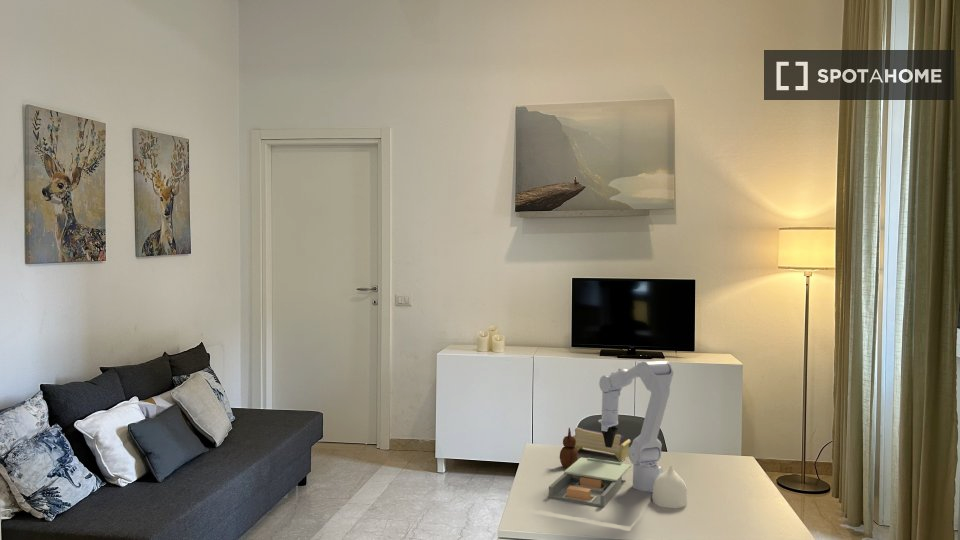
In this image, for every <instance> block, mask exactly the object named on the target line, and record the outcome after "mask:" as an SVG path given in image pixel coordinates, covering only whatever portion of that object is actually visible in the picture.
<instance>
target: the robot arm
mask: <svg viewBox="0 0 960 540" xmlns="http://www.w3.org/2000/svg"><path fill="white" fill-rule="evenodd" d="M673 375H674V371H673V368H672V365H671V363H670V362H669V361H668V360H666V359H664V360H657V361H656V360H654V361H653V360H652V361H641V362H638V363H637V364H636V365H634V366H633V367H631V368H629V369H628V368H624V367H620V368H618V369H617V371H616V372H611V373H610V375H602V376H601V377H600V379H599V381H598V384H599V389H600V391H602V392H601V393H602V398H601V399H602V400H601V419H599V420H597V421H598V423H600V424H601V426H600V428H599V429H600V432H601V433H602V434H603V437H604V442H605V446H606V447H609V448H611V447H612V446H613V442H614V438H615V434H617V432H618V431H619V426H618V425H619V401H620V400H619V398H620V395H621V391H622V389H623V388H624V387H627V386H629V385H631V384H632V383H633V379H637V378H639V379H640V380H641V382H642V383H643V385H644V387H645V389H646V390H648V391H649V392H650V397H649V401H648V404H647V407H646V410H645V411H646V412H645V416H644V420H643V423H642V427H641V430H640V434H639V435H638V436H637V437H635V438H634V439H633V440H632V443H631V445H629V450H628V459H629V461H630V463H631V464H633V465H632V488H633V489H635V490H637V491H643V492H651V493H653V486H654V483H655V480H656V479H657V478H658V477H659V476H660V474H662V473H663V467H662V466H661V465H658V462H659V461H660V460H661V457H662V446H663V443H662V442H661V440H660V439H659V438H658V436H659V433H660V429H661V425H662V422H663V417H664V414H665V410H666V407H667V403H668V399H669V397H670V392H671V391H670V389H671V388H670V387H671V383H672V380H673Z"/></svg>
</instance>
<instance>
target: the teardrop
mask: <svg viewBox="0 0 960 540" xmlns="http://www.w3.org/2000/svg"><path fill="white" fill-rule="evenodd" d="M651 502H653V504H655V505H657V506H659V507H663V508H669V509H680V508H685V507H687V506H688V488H687V485H686V482H685V481H684V480H683V478H682V477H681V476H680V475H679V474H678V473H677V472H676V471H675V470H674V469H673V466H672V465H670V466H669V467H668V469H667V470H665V471H663V472H662V474H660V476H659V477H658V478H657V479H656V480H655V483H654V486H653V492H652V495H651Z"/></svg>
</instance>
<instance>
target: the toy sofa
mask: <svg viewBox="0 0 960 540" xmlns="http://www.w3.org/2000/svg"><path fill="white" fill-rule="evenodd" d="M572 437H574V438H575V439H576V445H575V446H574V447H576V449H577V451H578V452H579V451H581V450H582V449H587V450H588V449H590V450H594V451H600V452H605V453H609V454H610V453H611V454H613V455H614V456H615V457H616V458H617V460H618V462H623V461H624V460H625V458H626V457H627V458H629V456H628V450H629V447H630V443H631V442H632V441H631V439H629V438H628V439H626V440H625V441H624V442H623V439H624V436H623V435H621V434H617V433H616V434H615V438H614V442H613V446H612V447H611V448H609V447H606V446H605V442H604V437H603V434H602V432H601V431H600V432H599V431H594V430H590V429H585V428H582V427H575V429H574V435H572ZM580 449H581V450H580ZM627 458H626V459H627ZM623 459H624V460H623ZM622 460H623V461H622Z"/></svg>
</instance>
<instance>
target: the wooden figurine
mask: <svg viewBox="0 0 960 540" xmlns="http://www.w3.org/2000/svg"><path fill="white" fill-rule="evenodd" d="M562 445H563V447H562V448H561V449H560V451H559V460H560V465H561V467H563V468H564V469H568V468H569V467H570V466H571V465H572V464H574V463H575V462H576V461H577V460H578V459H579V451H577V449H576V447H574V446H575V445H576V439H575V438H574V437H573V435H572V431H571V427H568V432H567V435H566V436H564V437H563V439H562Z"/></svg>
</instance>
